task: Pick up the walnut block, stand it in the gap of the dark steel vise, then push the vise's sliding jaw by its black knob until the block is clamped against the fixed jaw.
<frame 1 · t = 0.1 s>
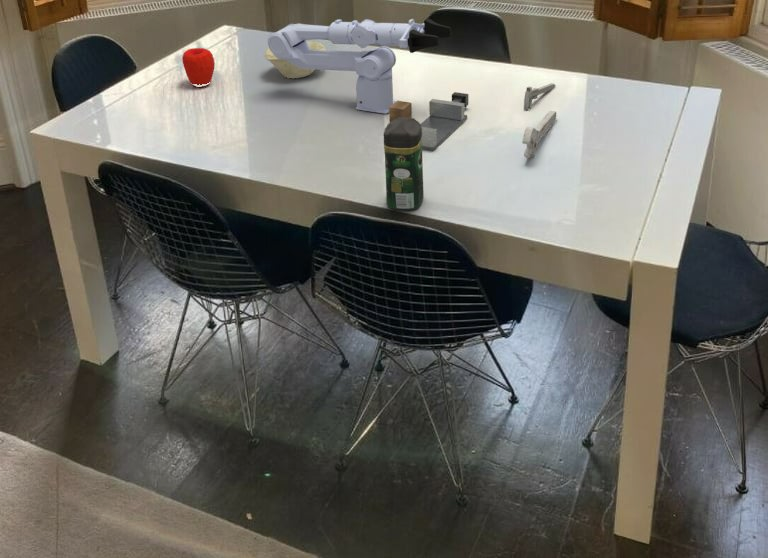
hand: (444, 36, 232), 22 cm above the table, tool horizontal, fingers open, 7 cm apart
block: (400, 126, 240), on the table
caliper: (540, 99, 253), on the table
vise: (434, 131, 236), on the table
bowl: (297, 75, 277), on the table
slide jaw: (453, 103, 244), point 3 cm above the table, slide at 0.0 cm
coffee jar: (404, 202, 204), on the table
wrench: (539, 143, 229), on the table
apple: (201, 85, 272), on the table
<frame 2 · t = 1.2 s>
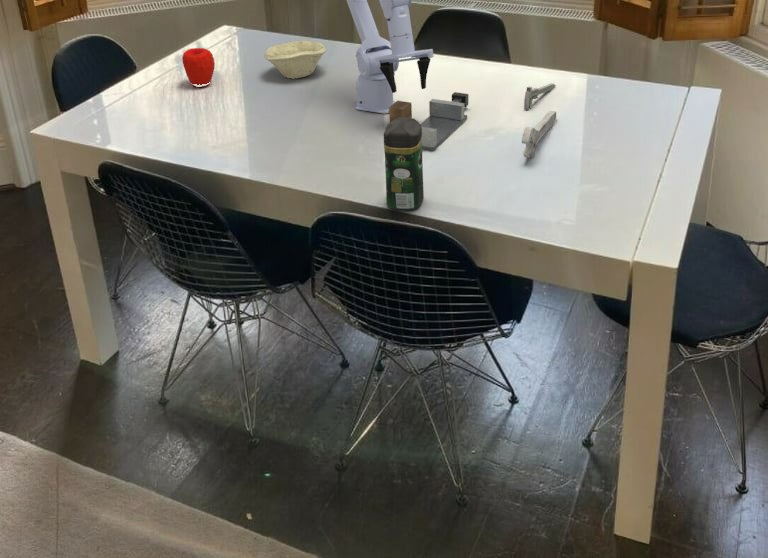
hand: (409, 90, 234), 10 cm above the table, tool pointing down, fingers open, 7 cm apart
nothing on the table moved.
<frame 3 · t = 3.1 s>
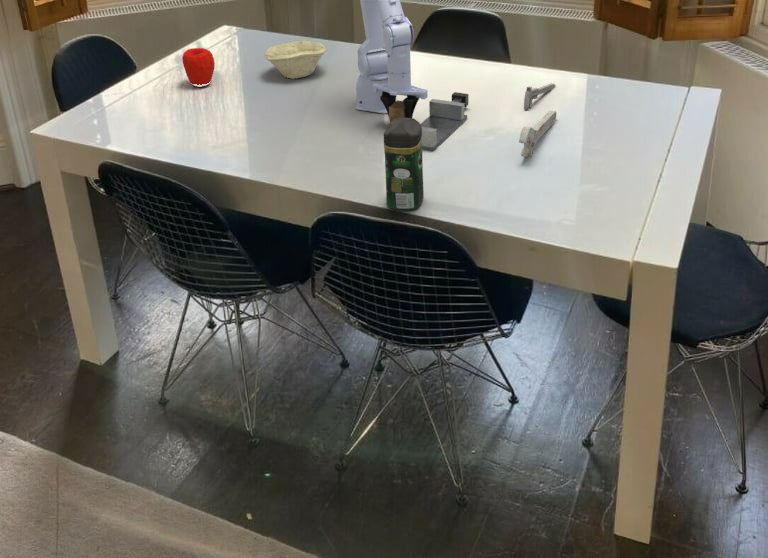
hand: (400, 121, 239), 1 cm above the table, tool pointing down, fingers closed on block, 4 cm apart
block: (400, 126, 240), on the table, touching gripper
everything else where it was.
when the fingers open (4 cm above the table, at t = 6.2 s): block stays where it is, resting on vise.
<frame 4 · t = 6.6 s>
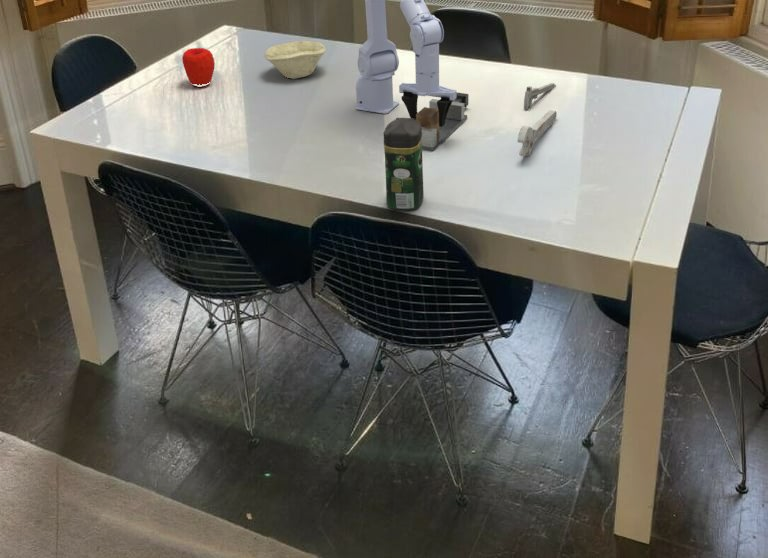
hand: (428, 123, 231), 4 cm above the table, tool pointing down, fingers open, 7 cm apart
block: (427, 134, 232), point 1 cm above the table, touching vise
everything else where it was.
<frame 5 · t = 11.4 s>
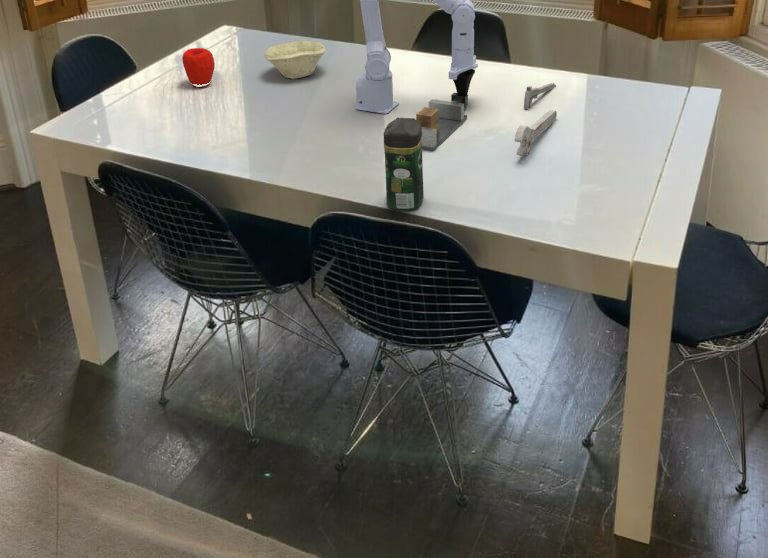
hand: (462, 96, 249), 3 cm above the table, tool pointing down, fingers closed
slide jaw: (453, 104, 243), point 3 cm above the table, slide at 0.3 cm, touching gripper
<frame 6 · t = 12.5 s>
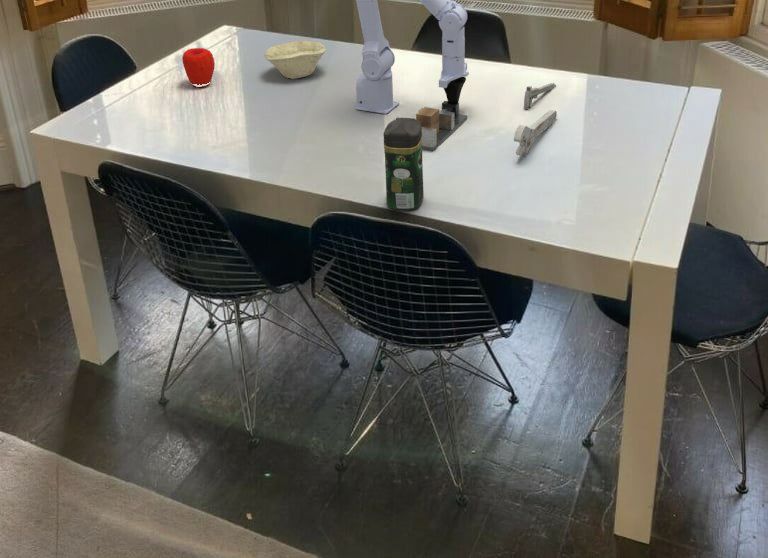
hand: (453, 105, 244), 3 cm above the table, tool pointing down, fingers closed
slide jaw: (443, 112, 239), point 3 cm above the table, slide at 6.7 cm, touching gripper
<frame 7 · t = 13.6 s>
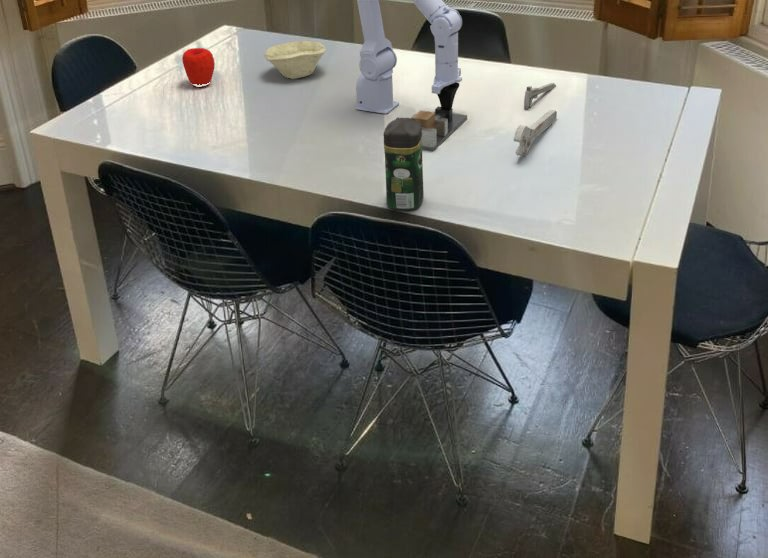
hand: (446, 111, 240), 3 cm above the table, tool pointing down, fingers closed
block: (424, 137, 230), point 1 cm above the table, touching slide jaw, vise
slide jaw: (436, 118, 235), point 3 cm above the table, slide at 11.0 cm, touching block, gripper
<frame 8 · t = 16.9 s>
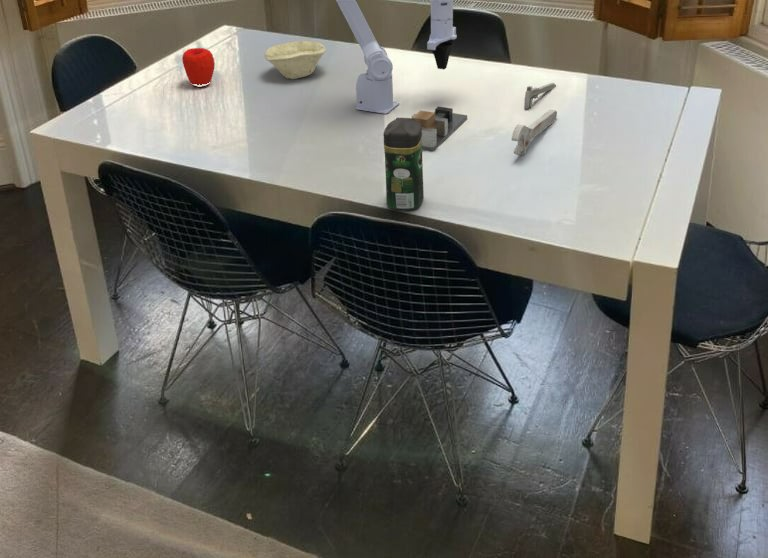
hand: (441, 68, 249), 9 cm above the table, tool pointing down, fingers closed
block: (424, 137, 230), point 1 cm above the table, touching vise
slide jaw: (436, 118, 235), point 3 cm above the table, slide at 11.0 cm
at the end: slide jaw slide at 11.0 cm; block 0.5 cm from the target spot on the vise, point 1.0 cm above the vise's base; block tilted 0° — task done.
